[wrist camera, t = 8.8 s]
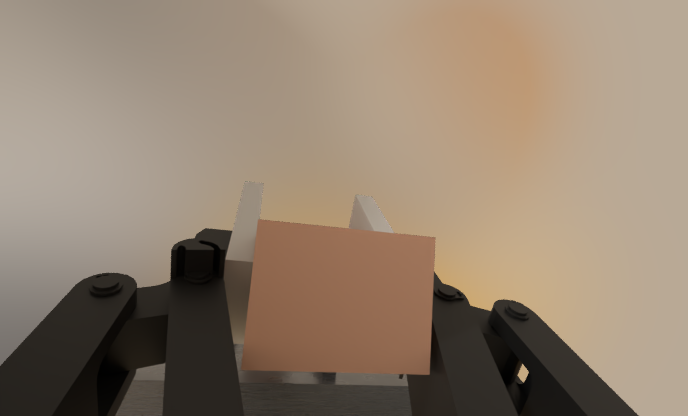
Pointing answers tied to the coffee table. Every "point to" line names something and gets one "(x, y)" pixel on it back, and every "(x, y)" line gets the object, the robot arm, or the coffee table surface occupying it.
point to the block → (339, 300)
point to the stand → (287, 393)
